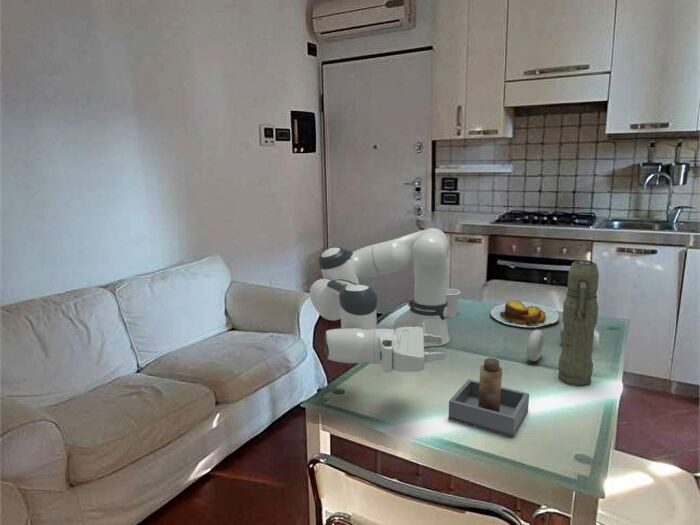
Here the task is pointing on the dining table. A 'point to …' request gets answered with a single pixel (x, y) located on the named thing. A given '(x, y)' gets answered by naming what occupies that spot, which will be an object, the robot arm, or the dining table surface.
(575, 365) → the thermos
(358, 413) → the dining table surface
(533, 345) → the donut
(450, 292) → the dixie cup
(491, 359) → the pepper mill
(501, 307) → the food on plate
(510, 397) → the bin
